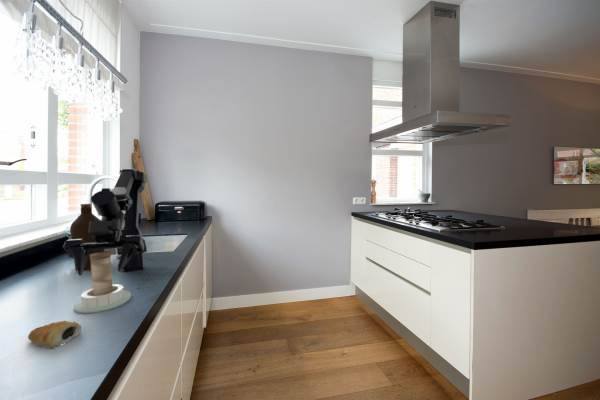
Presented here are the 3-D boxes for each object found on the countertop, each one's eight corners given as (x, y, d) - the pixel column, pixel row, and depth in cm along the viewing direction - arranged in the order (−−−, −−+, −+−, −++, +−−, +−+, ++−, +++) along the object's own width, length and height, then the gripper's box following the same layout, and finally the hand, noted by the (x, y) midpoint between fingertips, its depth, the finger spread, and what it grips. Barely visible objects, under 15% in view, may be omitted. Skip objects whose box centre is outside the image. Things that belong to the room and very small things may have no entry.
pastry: (17, 347, 57) (15, 329, 57) (51, 329, 64) (50, 313, 64) (55, 351, 56) (54, 332, 55) (86, 332, 62) (85, 316, 62)
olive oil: (112, 262, 116) (108, 202, 114) (95, 270, 106) (90, 204, 104) (85, 262, 116) (80, 203, 114) (66, 271, 105) (60, 205, 103)
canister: (108, 294, 80) (104, 250, 80) (117, 297, 78) (114, 252, 77) (89, 301, 76) (86, 254, 75) (98, 304, 74) (95, 256, 73)
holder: (129, 289, 86) (128, 278, 86) (132, 304, 76) (131, 292, 75) (76, 300, 79) (75, 288, 79) (71, 318, 68) (70, 305, 68)
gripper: (63, 211, 76) (43, 261, 67) (139, 208, 82) (131, 254, 72) (78, 234, 85) (62, 282, 75) (147, 229, 90) (140, 273, 80)
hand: (99, 272), depth 75 cm, fingers open, 9 cm apart
